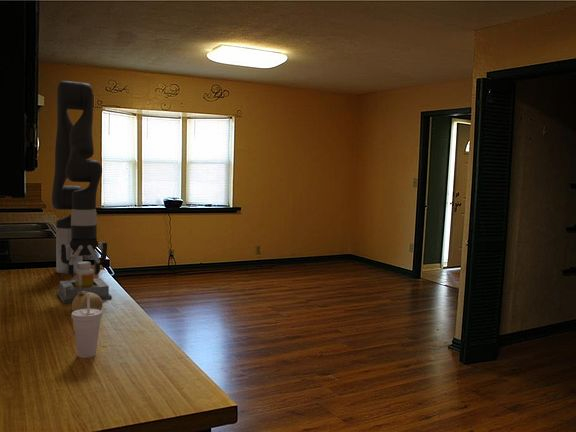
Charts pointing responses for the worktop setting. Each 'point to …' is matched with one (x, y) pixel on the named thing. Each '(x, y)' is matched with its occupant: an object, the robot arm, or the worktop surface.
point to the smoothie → (86, 329)
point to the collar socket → (70, 291)
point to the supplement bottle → (83, 274)
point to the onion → (81, 301)
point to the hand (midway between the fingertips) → (84, 275)
